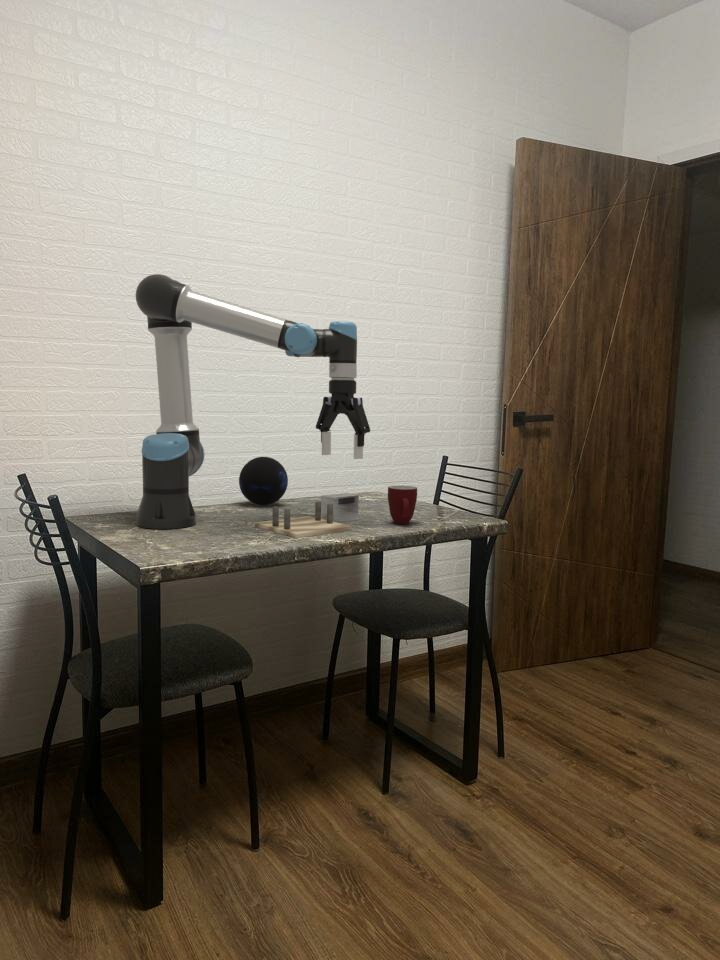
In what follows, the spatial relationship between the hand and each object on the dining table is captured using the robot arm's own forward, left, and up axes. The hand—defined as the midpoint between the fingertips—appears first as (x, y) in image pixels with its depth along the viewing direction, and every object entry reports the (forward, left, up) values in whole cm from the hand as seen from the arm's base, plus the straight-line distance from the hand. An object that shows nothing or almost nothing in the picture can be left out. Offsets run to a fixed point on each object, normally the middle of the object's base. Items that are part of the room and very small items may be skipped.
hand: (341, 456), depth 203 cm
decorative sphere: (-33, -3, -18) cm, 38 cm away
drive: (0, 0, -18) cm, 18 cm away
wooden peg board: (+4, -16, -18) cm, 24 cm away
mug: (+15, +10, -18) cm, 25 cm away
